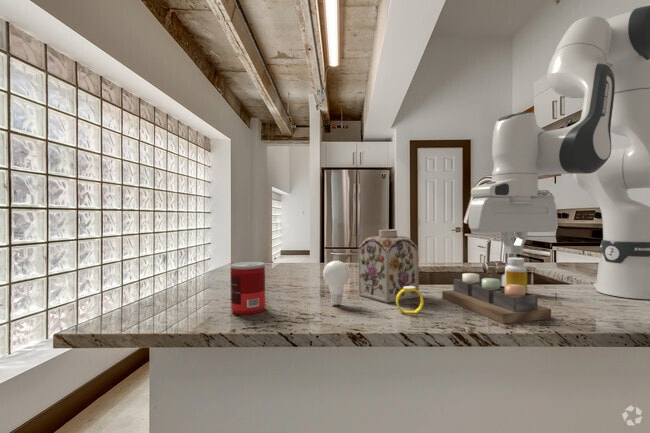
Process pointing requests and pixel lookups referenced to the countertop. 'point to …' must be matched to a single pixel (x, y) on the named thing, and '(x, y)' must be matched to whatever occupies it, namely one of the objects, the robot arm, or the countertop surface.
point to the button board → (496, 303)
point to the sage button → (490, 283)
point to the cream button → (470, 277)
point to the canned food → (247, 287)
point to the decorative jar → (388, 267)
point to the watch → (409, 288)
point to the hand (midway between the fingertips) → (513, 253)
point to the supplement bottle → (516, 272)
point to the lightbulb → (336, 280)
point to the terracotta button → (514, 290)
